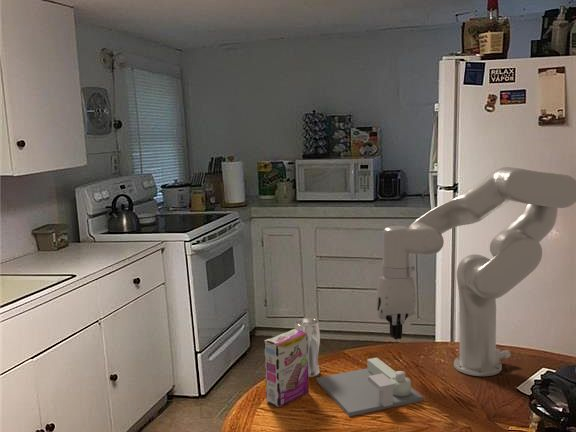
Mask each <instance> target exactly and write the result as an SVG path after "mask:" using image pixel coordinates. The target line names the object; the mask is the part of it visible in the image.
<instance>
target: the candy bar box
mask: <svg viewBox="0 0 576 432" xmlns="http://www.w3.org/2000/svg"><path fill="white" fill-rule="evenodd" d="M263 345H264V370H265V372H264V373H265V394H266V395H265V396H266V398H265V399H266V400H265V402H267V404H270V405H272V406H275V407H277V408H281V407H283V406H285V405H287V404H289V403H291V402H293V401H294V400H297V399H298V398H300V397H302V396H304V395H307V394H308V393H309V387H310V386H309V377H308V348H307V333H306V332H303V331H299V330H296V329H295V328H294V329H290V330H289V331H286V332H283V333H281V334H278V335H274V336H272V337H270V338H267V339H264V344H263Z"/></svg>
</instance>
